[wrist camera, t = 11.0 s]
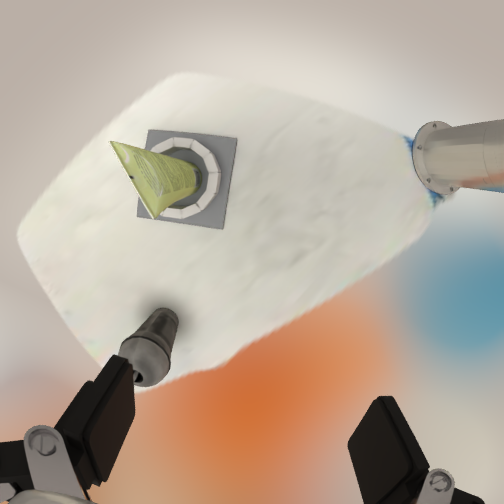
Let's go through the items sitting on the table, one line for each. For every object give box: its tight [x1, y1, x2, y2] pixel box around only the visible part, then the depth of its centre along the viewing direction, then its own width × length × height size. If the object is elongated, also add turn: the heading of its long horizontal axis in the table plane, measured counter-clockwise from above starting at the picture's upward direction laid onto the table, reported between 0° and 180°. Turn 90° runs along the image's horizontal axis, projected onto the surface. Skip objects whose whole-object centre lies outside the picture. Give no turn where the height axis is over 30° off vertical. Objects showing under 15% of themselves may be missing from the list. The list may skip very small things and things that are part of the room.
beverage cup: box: [118, 308, 178, 387], centre depth 36 cm, size 7×7×20 cm
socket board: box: [137, 130, 237, 229], centre depth 38 cm, size 13×13×5 cm
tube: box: [108, 141, 202, 219], centre depth 30 cm, size 6×5×20 cm
